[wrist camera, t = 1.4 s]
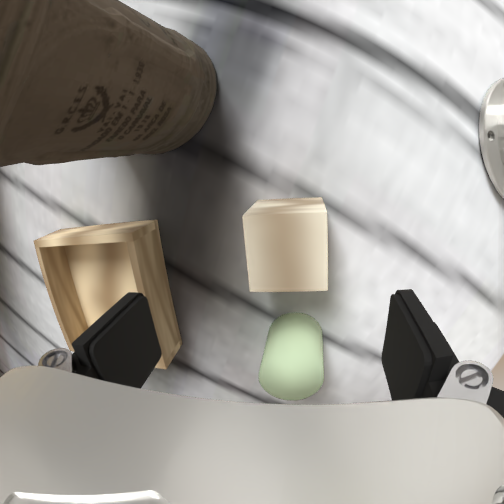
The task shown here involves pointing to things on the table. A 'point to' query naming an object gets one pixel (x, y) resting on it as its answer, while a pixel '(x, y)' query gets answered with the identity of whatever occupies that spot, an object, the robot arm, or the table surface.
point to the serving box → (108, 277)
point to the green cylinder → (293, 358)
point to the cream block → (287, 245)
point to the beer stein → (96, 82)
